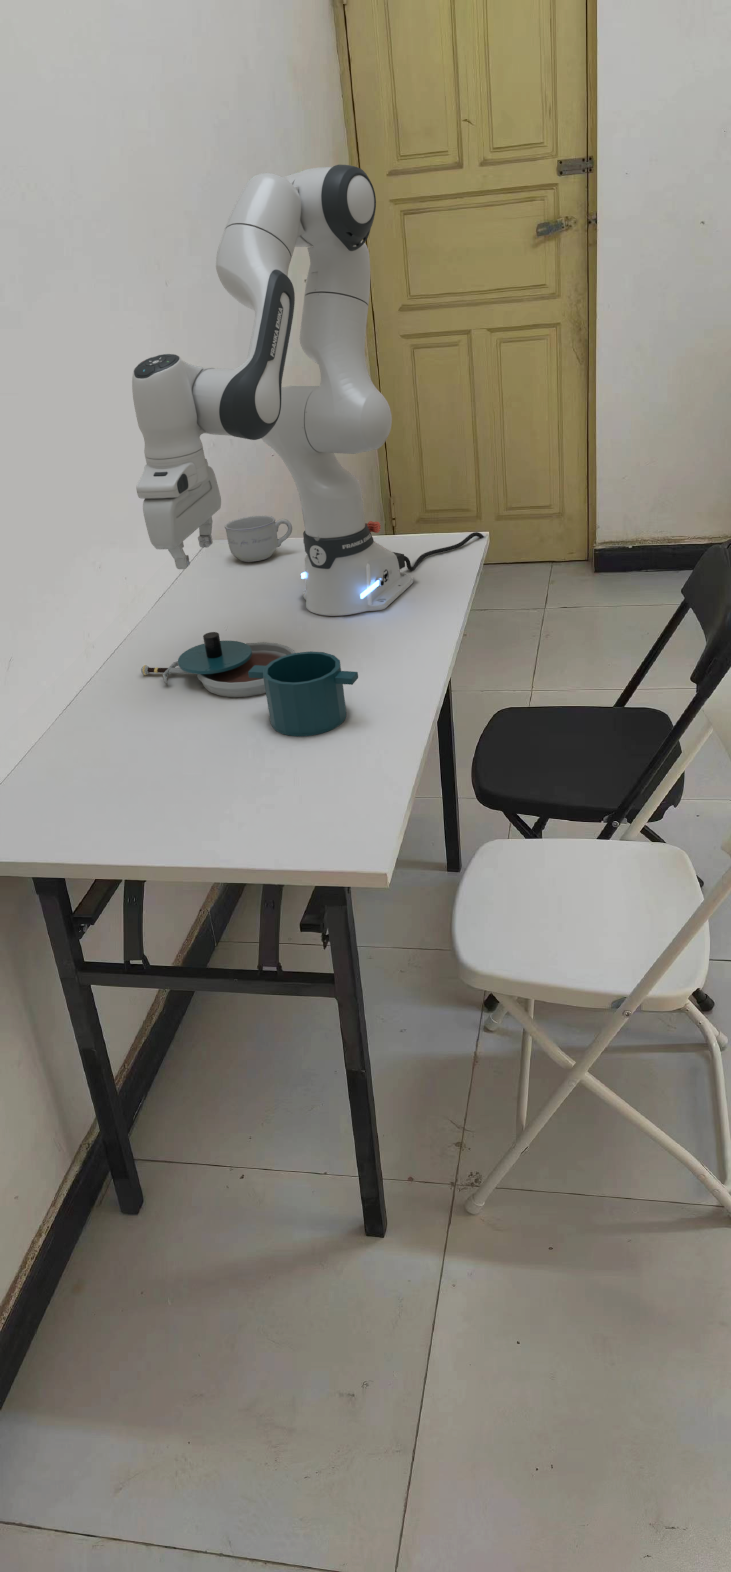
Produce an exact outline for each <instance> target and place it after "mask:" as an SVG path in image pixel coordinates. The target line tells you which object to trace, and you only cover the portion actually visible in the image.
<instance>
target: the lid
mask: <svg viewBox="0 0 731 1572" xmlns="http://www.w3.org/2000/svg"><path fill="white" fill-rule="evenodd" d="M202 639H203V643H201V644H198V645H195V646H193V647H190V648H188V649H186V650H185V651H183V653H181V654H180V655H179V657H178V659H177V661H178V665H179V666H178V668H181V669H182V670H183V671H185V672H188V673H187V674H193V675H197V674H214V673H220V672H225V671H228V670H232V669H234V668H237V667H239V666H241V665H243V664H244V663H246V662H247V661H248V660H249V659H250V658H251V656H252V650H251V648H250V646H248V645H247V644H246V643H245V642H242V641H238V640H221V638H220V633H219V632H216V631H209V632H206V633H205V634H203V635H202Z"/></svg>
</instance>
